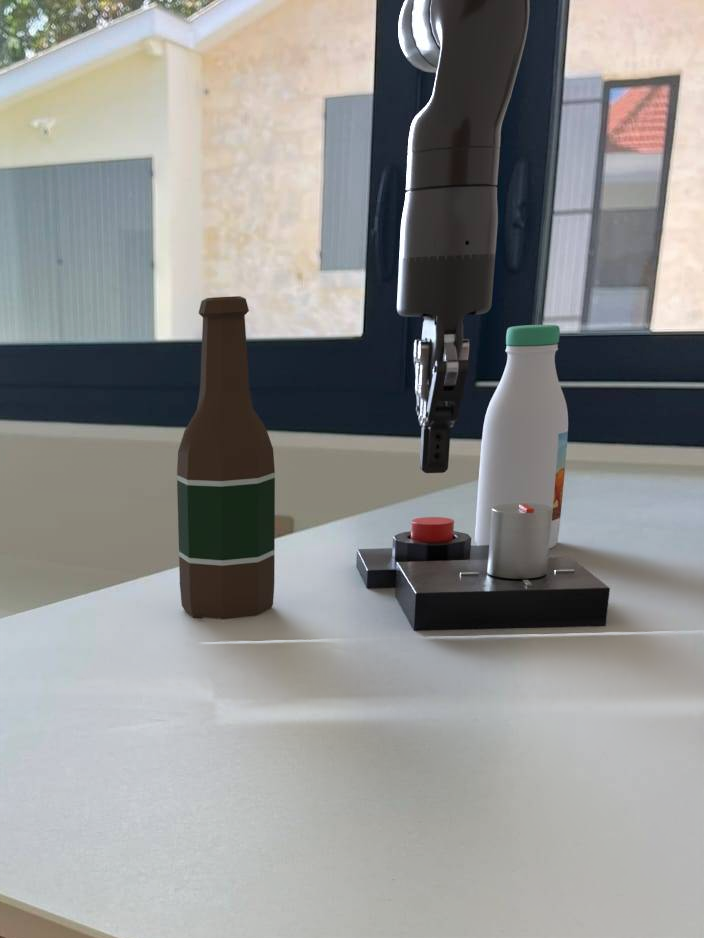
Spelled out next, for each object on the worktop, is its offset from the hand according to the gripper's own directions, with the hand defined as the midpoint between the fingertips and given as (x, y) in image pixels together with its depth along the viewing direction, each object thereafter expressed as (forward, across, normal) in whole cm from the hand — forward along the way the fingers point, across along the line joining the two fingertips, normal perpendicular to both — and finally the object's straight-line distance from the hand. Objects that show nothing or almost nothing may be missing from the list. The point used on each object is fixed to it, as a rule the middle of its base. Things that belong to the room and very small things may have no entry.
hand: (433, 471), depth 105 cm
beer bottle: (+9, -10, +18) cm, 22 cm away
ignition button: (+6, 0, 0) cm, 6 cm away
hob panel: (+9, -13, -3) cm, 16 cm away
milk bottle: (+9, +12, -10) cm, 18 cm away
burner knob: (+6, -13, -5) cm, 15 cm away
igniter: (+9, 0, 0) cm, 9 cm away
